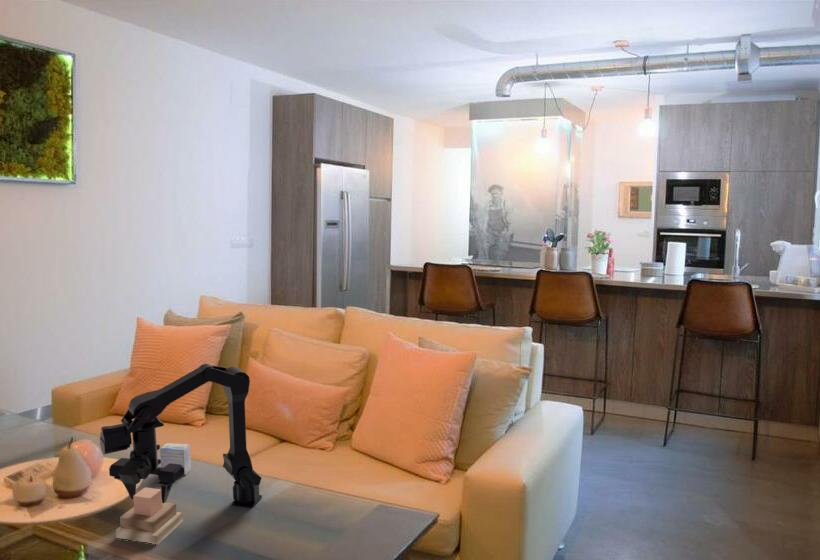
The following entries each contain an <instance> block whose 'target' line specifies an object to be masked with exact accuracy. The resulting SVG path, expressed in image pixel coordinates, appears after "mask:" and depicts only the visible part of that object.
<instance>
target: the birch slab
mask: <svg viewBox="0 0 820 560" xmlns="http://www.w3.org/2000/svg"><path fill="white" fill-rule="evenodd" d="M183 517H184V513H183V512H180V511H179V512H178V511H177V514H176V515H175V516H174V517H173V518H171V519H170V520H169V521H168V522H167V523H166V524H164V525H163V526H162V527H161V528H160V529H159V530H157V531H156V532H155V533H150V532H144V531H137V530H131V529H125V528H121V526H119V527H118V528H116V529H115V539H116V538H123V539H130V540H136V541H141V542H148V543H152V544H151V545H155V544H156V546H157V545H160V543H161V542H163V541H164V539H166V538H167V537H168V536H169V535H170V534H171V533H173V531H174V530H175V529H177V528H178V527H179V526H180V525H181V524H182V522H184V518H183ZM141 542H140V543H141ZM148 543H147V544H148Z"/></svg>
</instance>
